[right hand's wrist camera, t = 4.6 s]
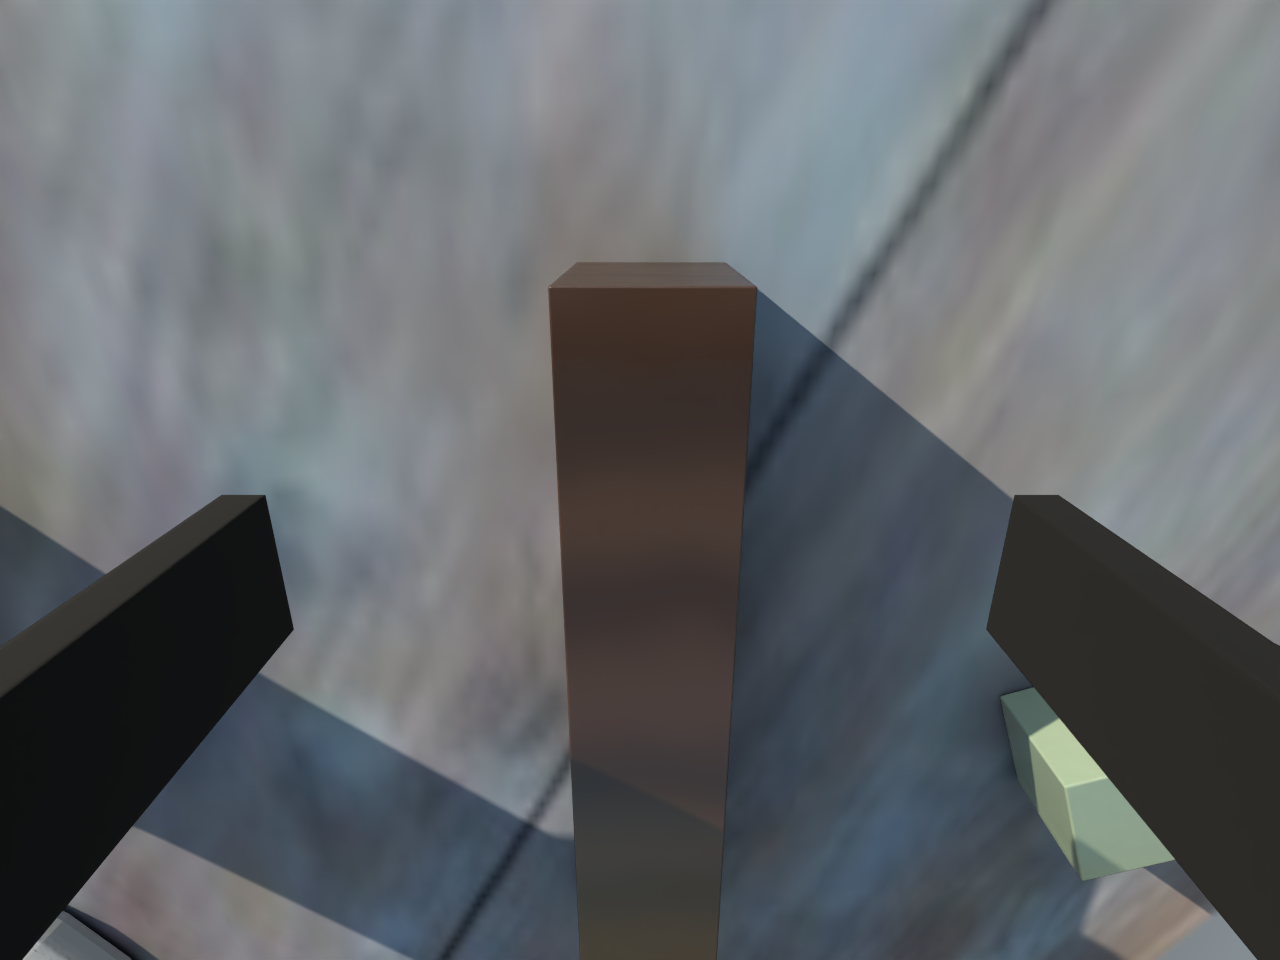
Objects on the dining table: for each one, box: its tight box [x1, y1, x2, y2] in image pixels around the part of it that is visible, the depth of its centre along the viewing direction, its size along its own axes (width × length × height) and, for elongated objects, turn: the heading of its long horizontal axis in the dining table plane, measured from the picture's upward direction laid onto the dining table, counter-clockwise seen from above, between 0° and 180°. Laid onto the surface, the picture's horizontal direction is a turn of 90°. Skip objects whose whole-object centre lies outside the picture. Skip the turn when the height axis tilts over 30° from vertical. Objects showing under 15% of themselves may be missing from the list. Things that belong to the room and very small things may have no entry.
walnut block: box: [548, 263, 757, 960], centre depth 25 cm, size 30×5×7 cm, turn 0°
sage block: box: [1000, 687, 1175, 881], centre depth 28 cm, size 5×5×5 cm
